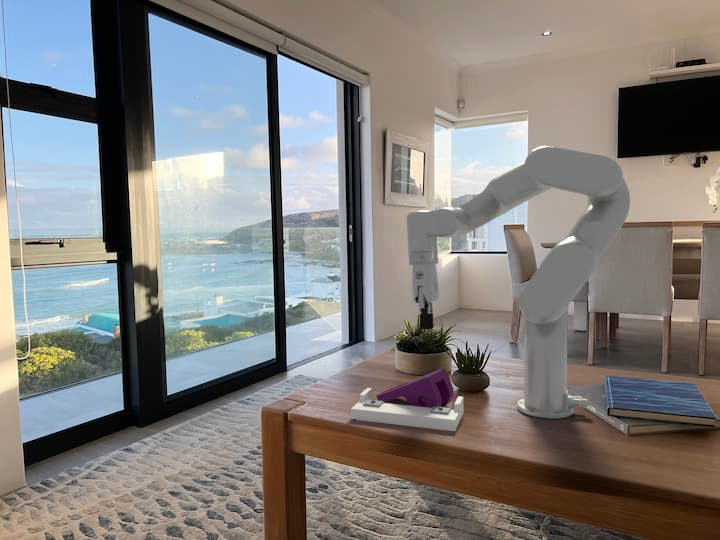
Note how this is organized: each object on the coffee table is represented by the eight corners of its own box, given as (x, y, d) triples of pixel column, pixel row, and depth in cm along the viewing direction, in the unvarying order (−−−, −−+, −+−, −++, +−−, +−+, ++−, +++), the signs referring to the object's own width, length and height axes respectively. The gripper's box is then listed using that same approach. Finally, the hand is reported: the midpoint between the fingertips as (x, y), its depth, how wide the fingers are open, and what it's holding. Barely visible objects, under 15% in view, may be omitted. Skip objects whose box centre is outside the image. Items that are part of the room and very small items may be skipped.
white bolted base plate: (463, 413, 120) (463, 396, 120) (455, 431, 110) (455, 413, 109) (367, 403, 129) (367, 387, 128) (351, 419, 118) (350, 402, 118)
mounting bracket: (382, 431, 126) (442, 412, 116) (369, 398, 127) (427, 377, 118) (401, 419, 133) (458, 400, 124) (388, 388, 135) (444, 367, 125)
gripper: (431, 259, 124) (435, 334, 125) (443, 256, 138) (446, 323, 139) (401, 260, 126) (405, 334, 127) (416, 257, 140) (419, 323, 141)
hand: (427, 328), depth 133 cm, fingers closed
